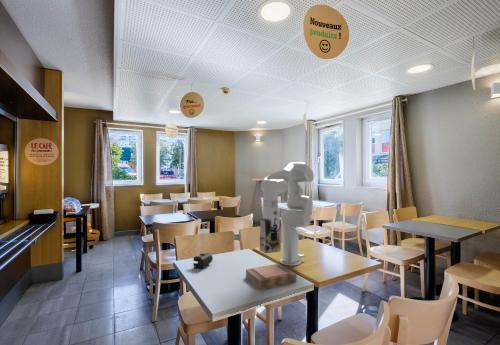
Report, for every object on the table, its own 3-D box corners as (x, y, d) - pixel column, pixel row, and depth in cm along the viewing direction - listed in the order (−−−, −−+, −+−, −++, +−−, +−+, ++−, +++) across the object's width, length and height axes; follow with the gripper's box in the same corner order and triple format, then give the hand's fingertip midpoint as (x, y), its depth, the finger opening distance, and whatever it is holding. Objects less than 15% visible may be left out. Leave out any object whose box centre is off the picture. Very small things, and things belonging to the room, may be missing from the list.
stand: (278, 271, 139) (278, 263, 139) (296, 281, 124) (296, 273, 125) (246, 277, 130) (246, 268, 130) (260, 289, 116) (260, 280, 116)
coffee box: (265, 254, 123) (266, 220, 123) (259, 250, 128) (259, 218, 129) (281, 251, 127) (281, 219, 127) (274, 248, 133) (274, 217, 133)
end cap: (203, 270, 140) (203, 258, 140) (192, 268, 143) (193, 256, 143) (212, 264, 149) (212, 253, 149) (202, 263, 152) (202, 251, 152)
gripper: (286, 205, 122) (286, 242, 122) (268, 202, 138) (268, 234, 137) (272, 206, 119) (272, 244, 118) (256, 202, 134) (256, 236, 134)
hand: (270, 238), depth 128 cm, fingers closed on coffee box, 6 cm apart
